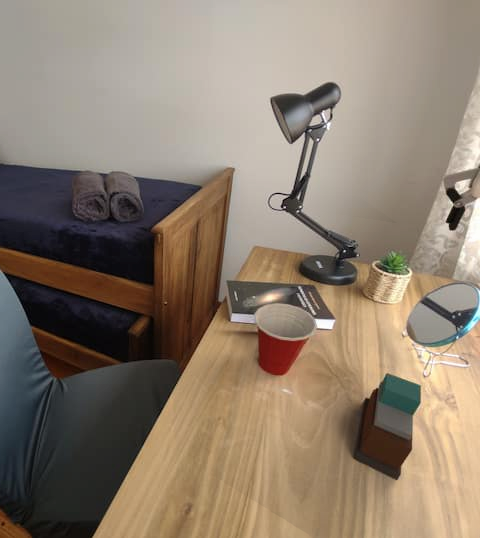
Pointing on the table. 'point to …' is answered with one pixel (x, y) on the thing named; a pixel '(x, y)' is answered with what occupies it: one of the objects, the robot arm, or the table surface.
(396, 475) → the chocolate bar chunk
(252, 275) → the table surface
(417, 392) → the teal block
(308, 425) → the table surface
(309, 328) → the plastic cup
